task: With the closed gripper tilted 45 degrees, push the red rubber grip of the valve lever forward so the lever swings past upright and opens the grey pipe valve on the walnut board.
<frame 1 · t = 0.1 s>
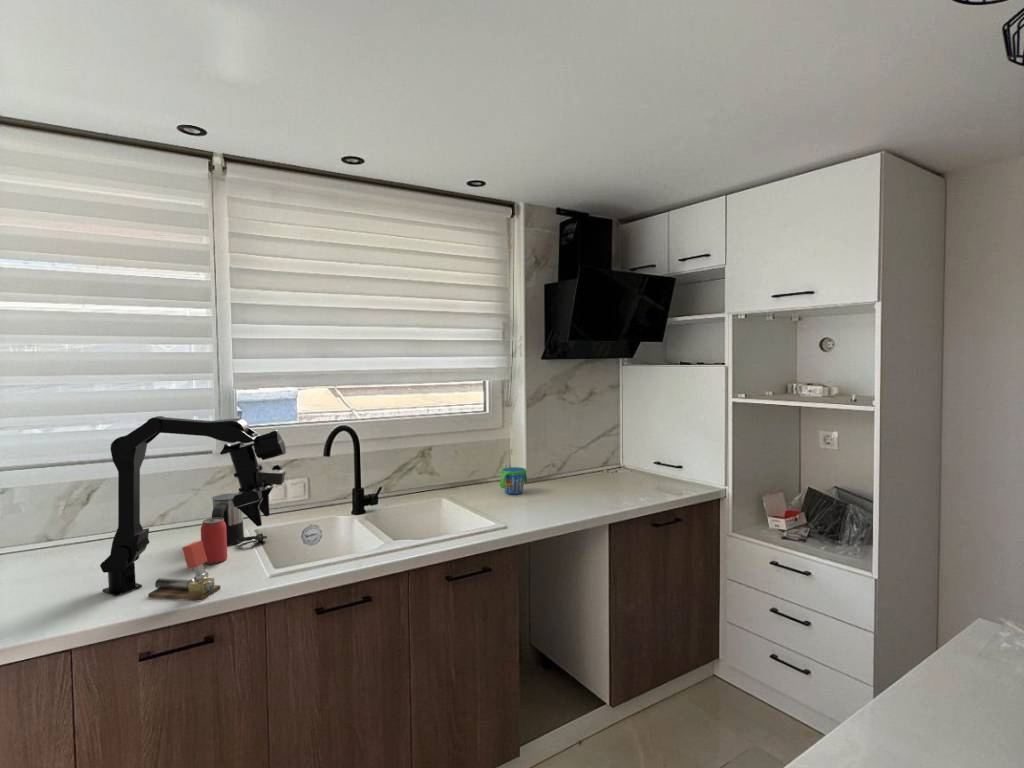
hand: (263, 520, 153), 15 cm above the worktop, tool pointing down, fingers open, 9 cm apart
beer can: (214, 561, 167), on the worktop
milk frother: (240, 543, 183), on the worktop
valve lever: (197, 561, 143), point 8 cm above the worktop, hinge at -15.0°
snack cup: (513, 493, 243), on the worktop
valve body: (202, 594, 143), resting on walnut board
walnut board: (202, 594, 143), on the worktop
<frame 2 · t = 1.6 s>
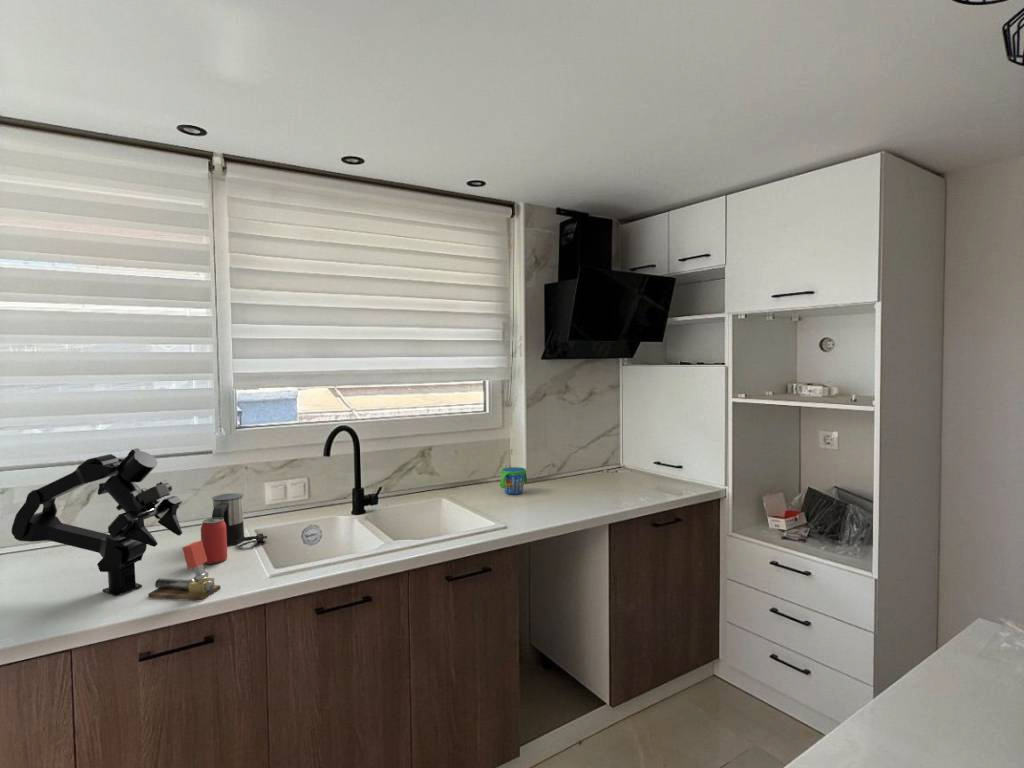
hand: (168, 539, 144), 13 cm above the worktop, tool tilted 45°, fingers open, 8 cm apart
nothing on the worktop moved.
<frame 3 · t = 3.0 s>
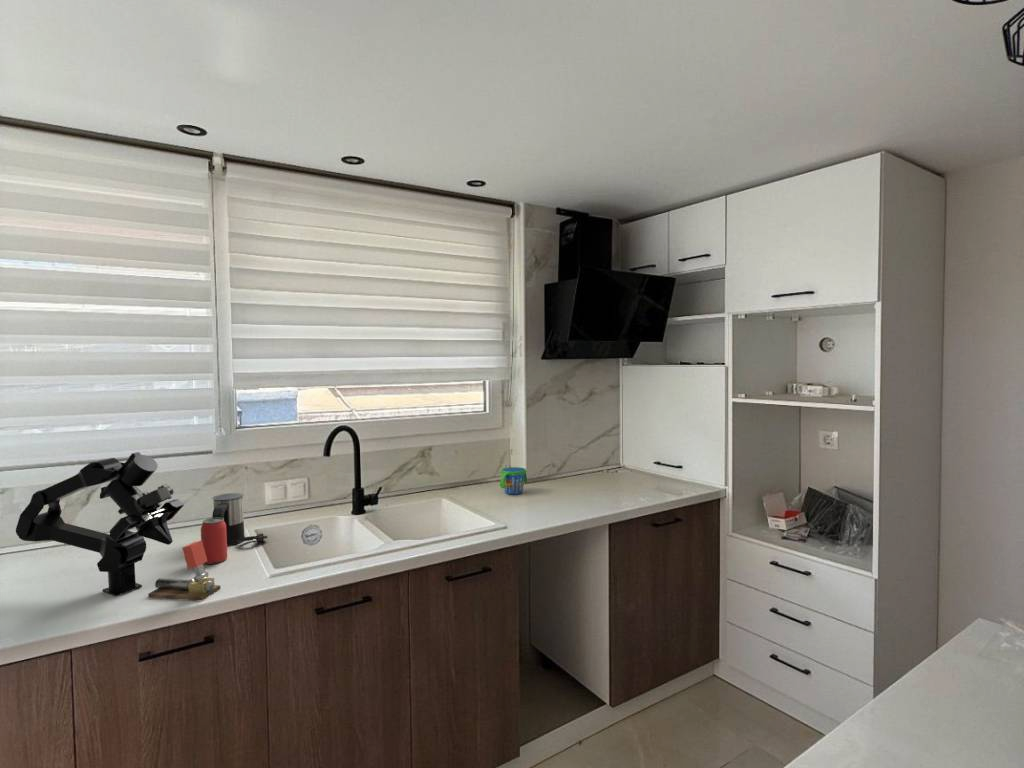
hand: (170, 543, 144), 13 cm above the worktop, tool tilted 45°, fingers closed
nothing on the worktop moved.
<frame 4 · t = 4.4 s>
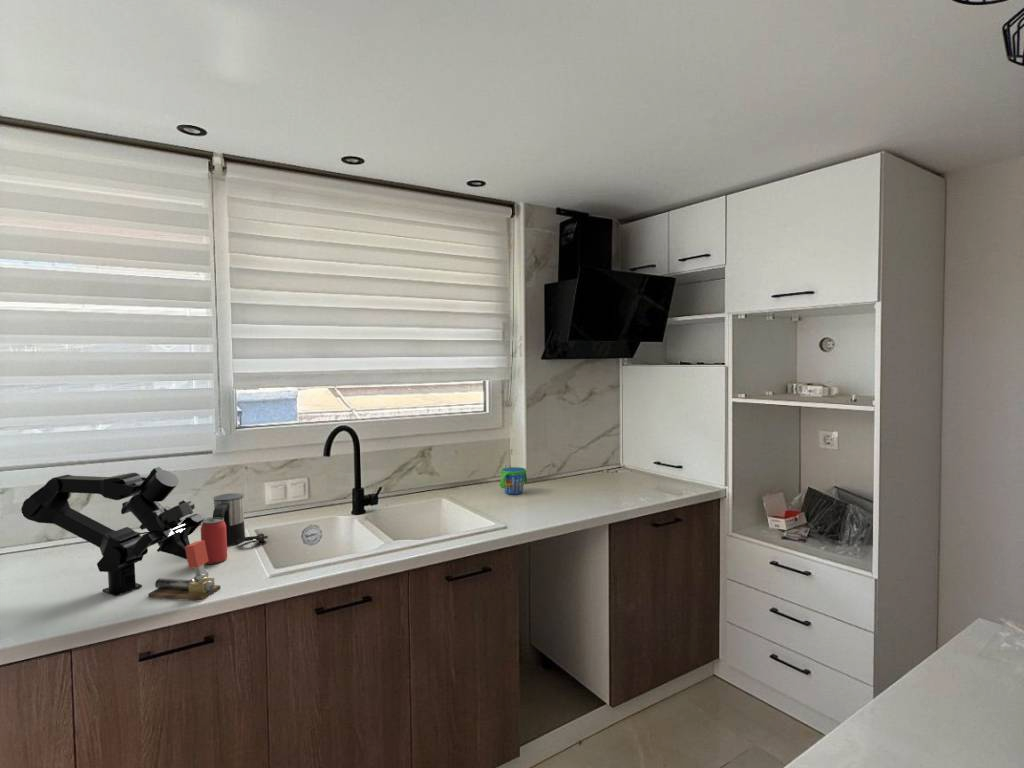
hand: (192, 558, 143), 9 cm above the worktop, tool tilted 45°, fingers closed, pressing on valve lever
valve lever: (198, 561, 143), point 8 cm above the worktop, hinge at -9.8°, touching gripper
everything else where it was.
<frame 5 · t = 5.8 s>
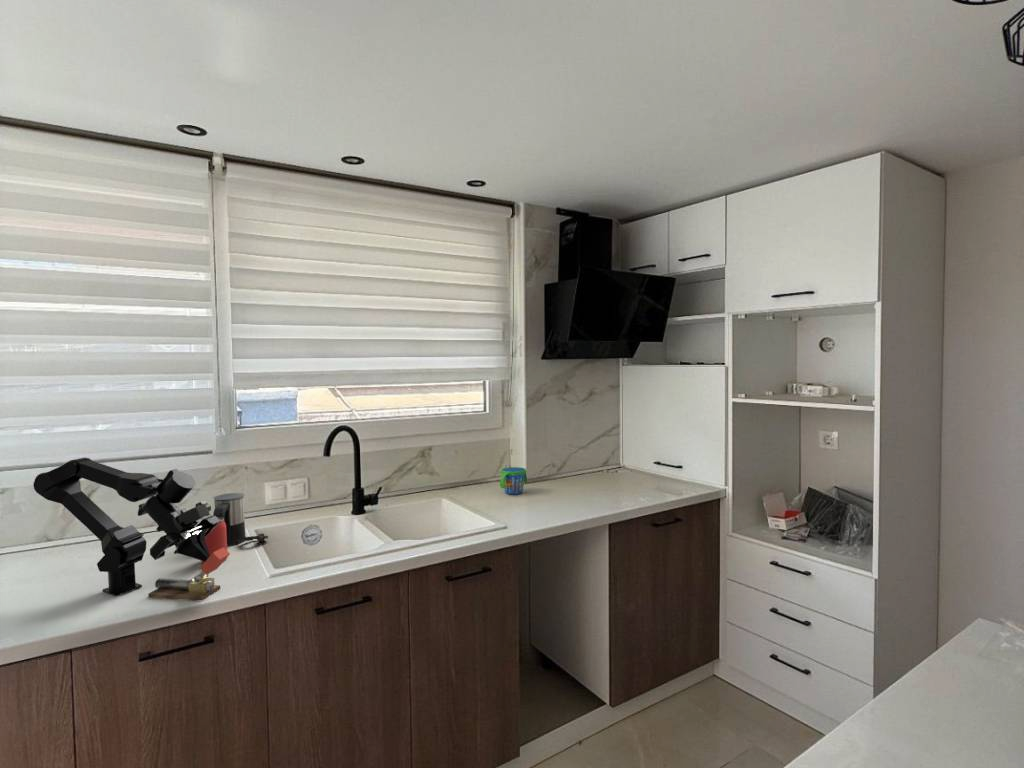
hand: (209, 560, 142), 9 cm above the worktop, tool tilted 45°, fingers closed, pressing on valve lever
valve lever: (210, 566, 142), point 7 cm above the worktop, hinge at 43.3°, touching gripper
everything else where it was.
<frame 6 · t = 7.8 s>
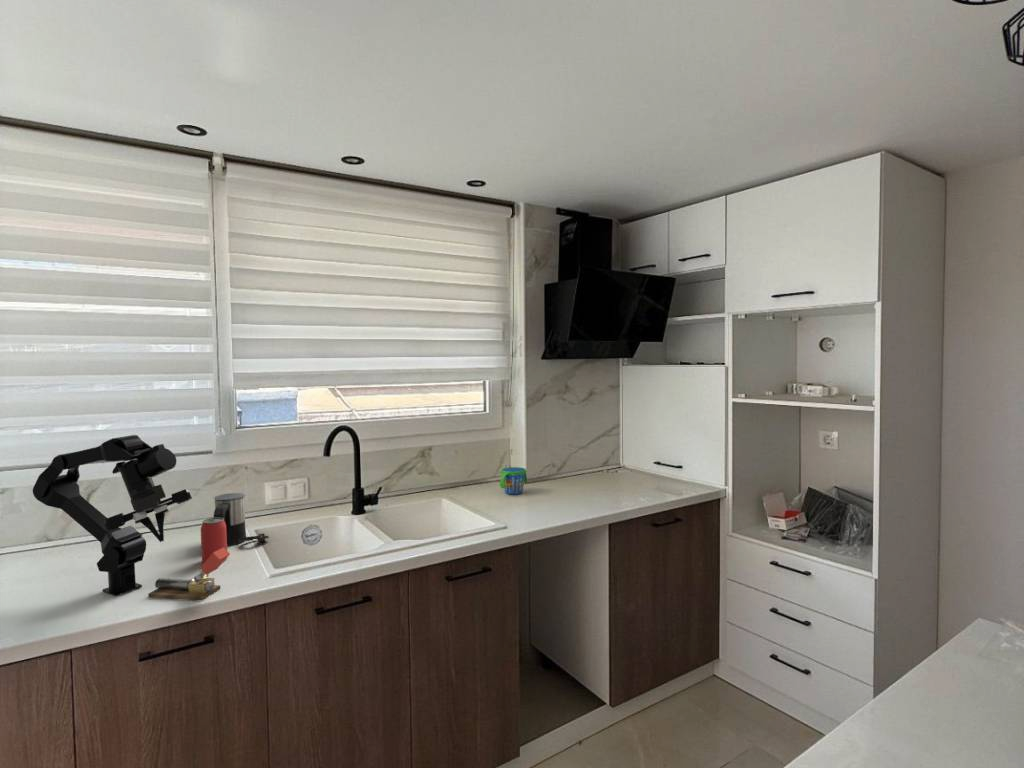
hand: (162, 541, 143), 13 cm above the worktop, tool tilted 20°, fingers closed
valve lever: (210, 566, 142), point 7 cm above the worktop, hinge at 43.5°
everything else where it was.
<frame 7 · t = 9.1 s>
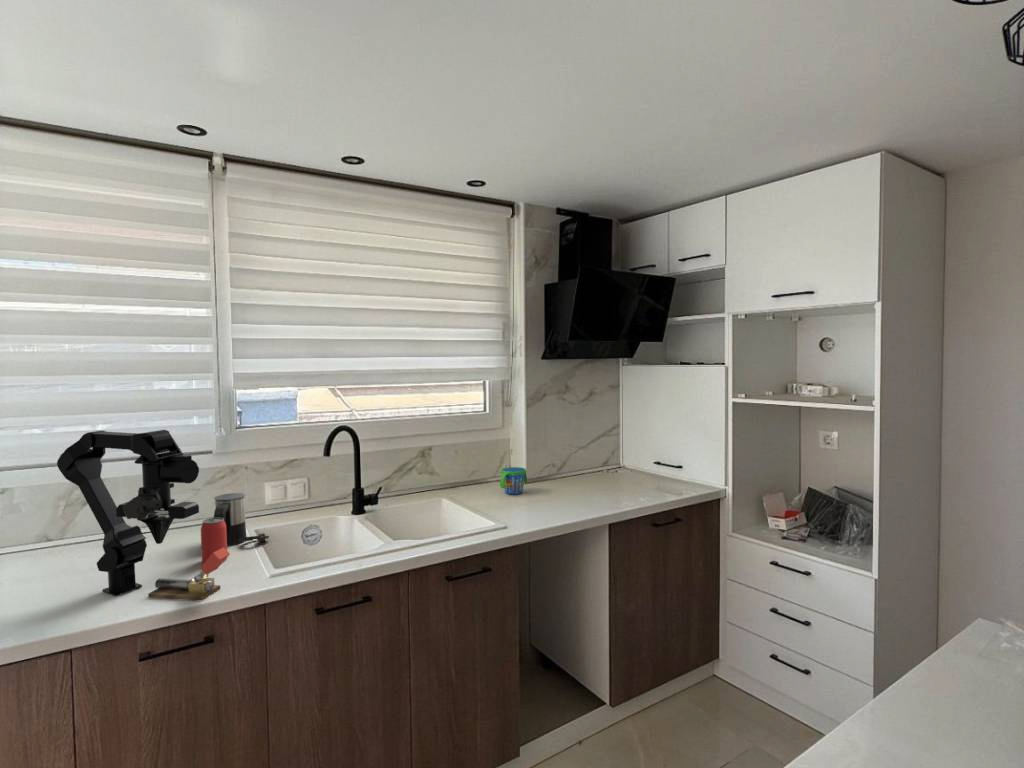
hand: (159, 543, 143), 13 cm above the worktop, tool pointing down, fingers closed
nothing on the worktop moved.
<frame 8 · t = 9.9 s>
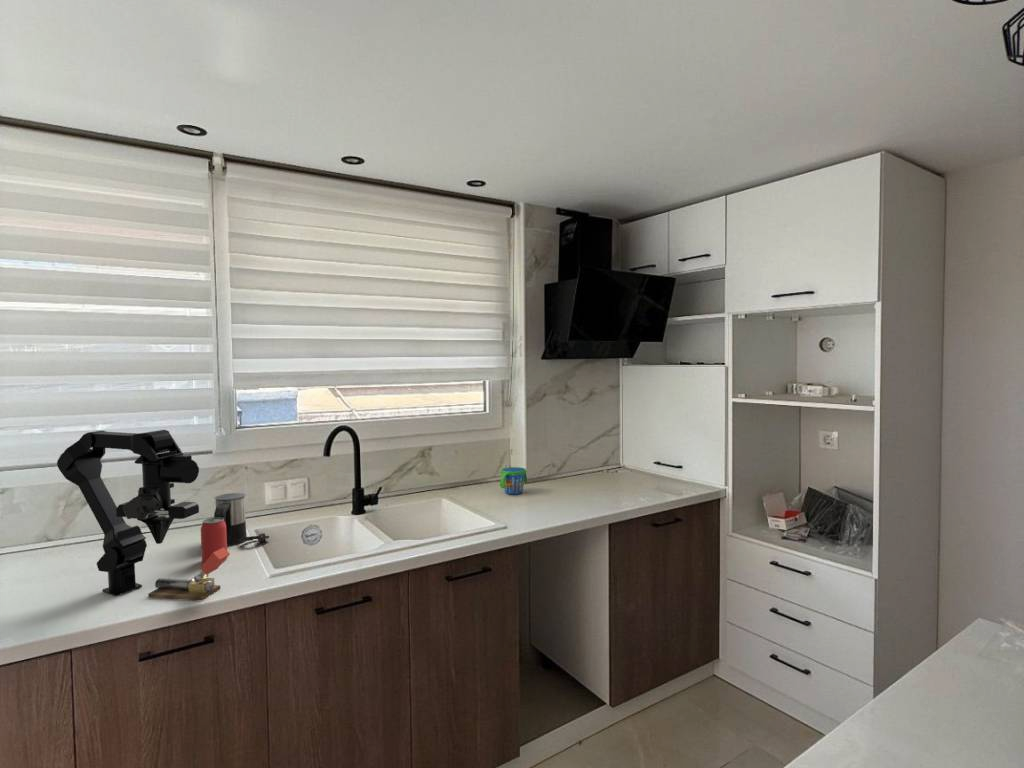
hand: (159, 543, 143), 13 cm above the worktop, tool pointing down, fingers closed
nothing on the worktop moved.
at the end: valve lever at +44° (first picture: -15°); beer can moved 0.2 cm from its start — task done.
